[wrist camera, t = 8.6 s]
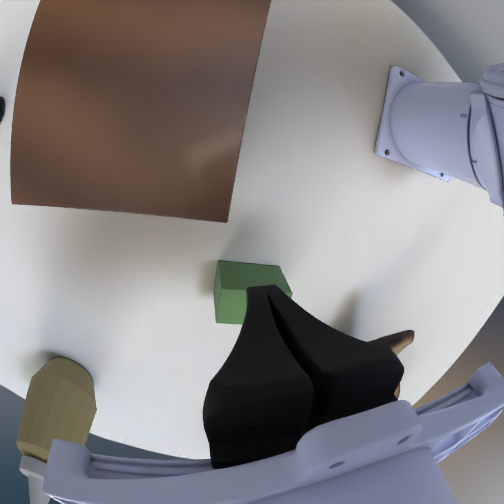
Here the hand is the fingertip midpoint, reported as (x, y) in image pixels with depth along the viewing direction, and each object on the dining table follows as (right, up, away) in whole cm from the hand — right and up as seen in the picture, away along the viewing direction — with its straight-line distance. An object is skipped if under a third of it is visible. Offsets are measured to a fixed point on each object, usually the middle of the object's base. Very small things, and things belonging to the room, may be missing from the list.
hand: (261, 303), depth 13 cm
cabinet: (-7, +14, +3) cm, 16 cm away
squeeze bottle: (-21, -11, +13) cm, 27 cm away
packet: (-1, 0, +10) cm, 10 cm away
